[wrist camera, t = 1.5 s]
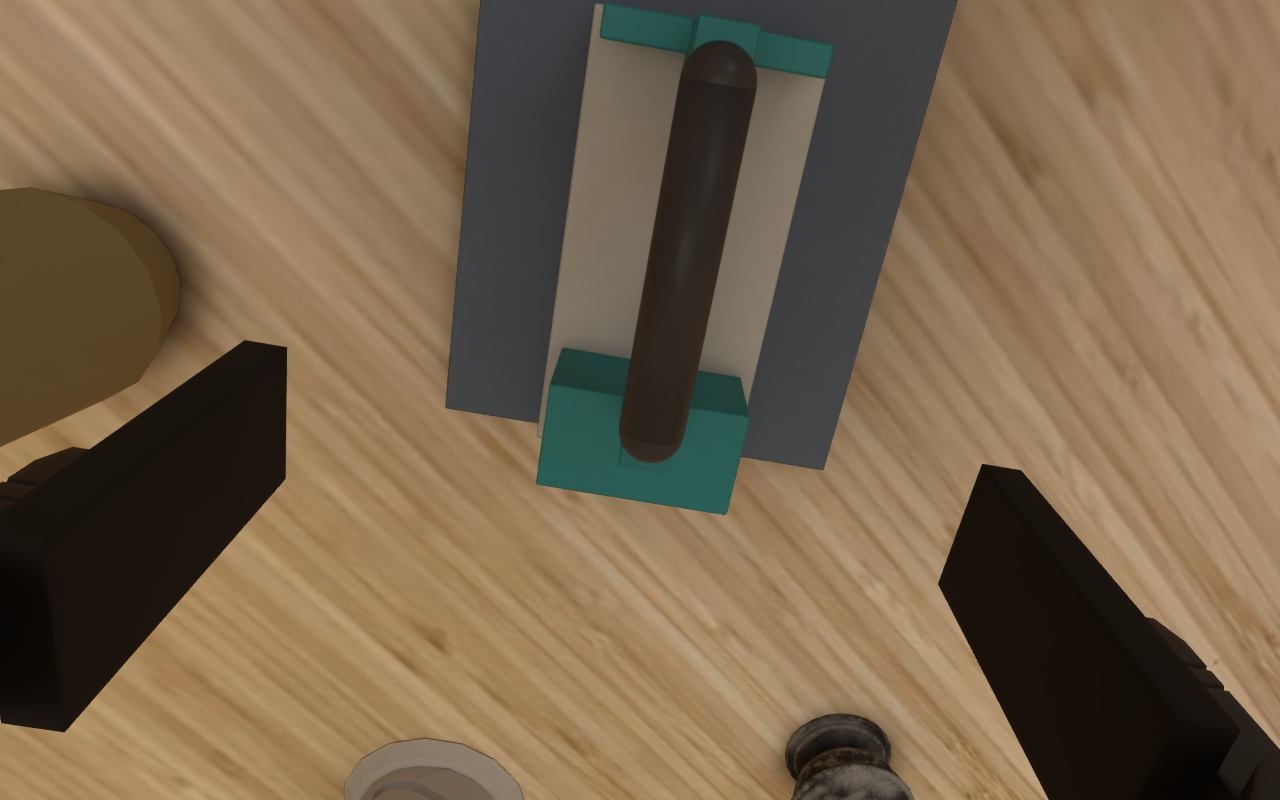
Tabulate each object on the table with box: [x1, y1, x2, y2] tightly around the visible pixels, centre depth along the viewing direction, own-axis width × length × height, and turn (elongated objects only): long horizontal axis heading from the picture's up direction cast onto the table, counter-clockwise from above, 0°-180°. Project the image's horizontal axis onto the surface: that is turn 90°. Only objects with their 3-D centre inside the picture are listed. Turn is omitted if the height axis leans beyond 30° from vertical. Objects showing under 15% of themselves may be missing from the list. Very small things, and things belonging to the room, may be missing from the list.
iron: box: [536, 2, 834, 515], centre depth 28 cm, size 16×8×10 cm, turn 170°
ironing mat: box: [445, 0, 958, 470], centre depth 31 cm, size 16×26×1 cm, turn 170°
